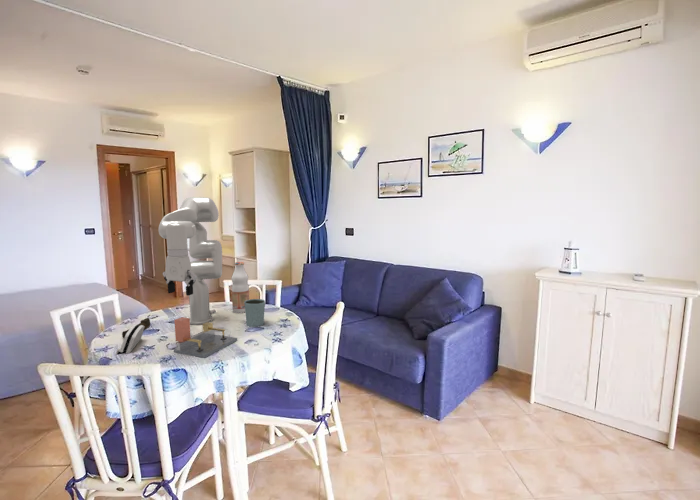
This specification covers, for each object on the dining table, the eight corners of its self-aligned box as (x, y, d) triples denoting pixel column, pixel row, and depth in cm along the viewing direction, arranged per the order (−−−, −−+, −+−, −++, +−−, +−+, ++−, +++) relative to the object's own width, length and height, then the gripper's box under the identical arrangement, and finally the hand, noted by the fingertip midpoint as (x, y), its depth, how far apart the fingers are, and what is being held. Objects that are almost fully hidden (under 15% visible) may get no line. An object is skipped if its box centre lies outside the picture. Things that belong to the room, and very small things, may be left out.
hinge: (128, 340, 165) (135, 319, 165) (139, 342, 166) (146, 321, 166) (115, 354, 149) (122, 331, 149) (127, 357, 150) (135, 334, 150)
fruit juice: (230, 313, 206) (228, 263, 202) (235, 308, 215) (233, 261, 212) (246, 313, 206) (244, 263, 202) (251, 308, 215) (250, 261, 211)
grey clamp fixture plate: (208, 336, 170) (208, 320, 169) (237, 340, 164) (236, 324, 163) (173, 352, 152) (172, 335, 151) (204, 357, 146) (203, 340, 145)
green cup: (243, 323, 189) (242, 300, 187) (262, 320, 194) (261, 297, 192) (248, 328, 180) (247, 304, 178) (268, 325, 185) (267, 302, 183)
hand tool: (130, 339, 167) (129, 329, 166) (121, 339, 167) (121, 329, 166) (155, 326, 185) (154, 317, 185) (147, 325, 186) (147, 316, 185)
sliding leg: (183, 344, 156) (182, 317, 154) (204, 347, 152) (203, 320, 150) (176, 347, 152) (174, 319, 150) (197, 351, 148) (195, 323, 146)
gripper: (154, 253, 150) (157, 293, 153) (187, 255, 144) (190, 298, 147) (169, 250, 157) (172, 289, 160) (201, 252, 151) (203, 293, 154)
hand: (180, 293), depth 153 cm, fingers open, 9 cm apart
